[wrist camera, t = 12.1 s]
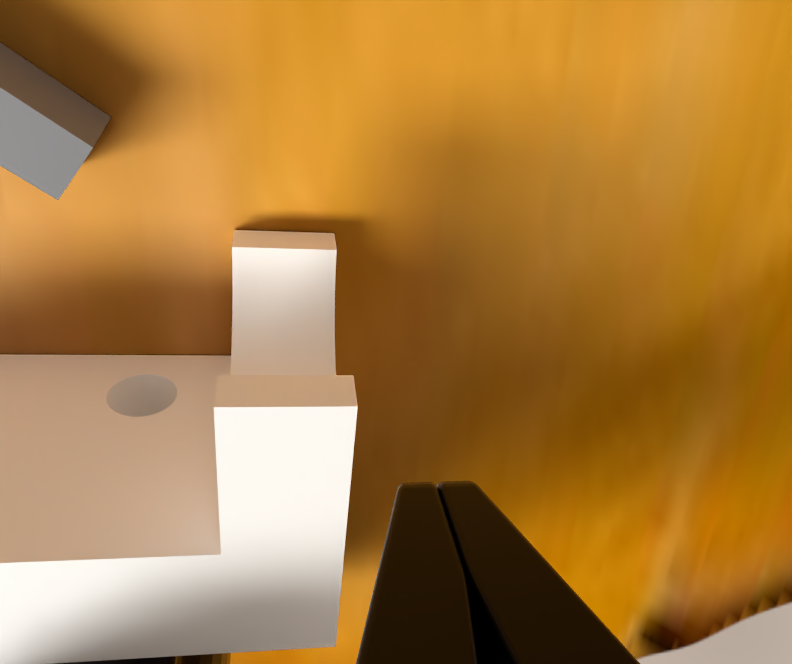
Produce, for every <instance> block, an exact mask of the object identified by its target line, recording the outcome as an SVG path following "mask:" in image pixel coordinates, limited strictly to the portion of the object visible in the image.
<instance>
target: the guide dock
mask: <svg viewBox="0 0 792 664" xmlns="http://www.w3.org/2000/svg"><path fill="white" fill-rule="evenodd" d="M110 118H111V117H110V116H109V115H107V114H106V113H104V112H103V111H101V110H100V109H98V108H97V107H95V106H94V105H92V104H91V103H89V102H88V101H86V100H85V99H83V98H82V97H81V96H79V95H78V94H76V93H75V92H73V91H72V90H70V89H69V88H67V87H66V86H64V85H63V84H61V83H60V82H58V81H57V80H55V79H54V78H52V77H51V76H49V75H48V74H46V73H45V72H44V71H42V70H41V69H39V68H38V67H36V66H35V65H33V64H32V63H30V62H29V61H27V60H26V59H24V58H23V57H21V56H20V55H18V54H17V53H15V52H14V51H12V50H11V49H9V48H8V47H7V46H5V45H4V44H2V43H1V42H0V166H2V167H3V168H5V169H7V170H8V171H10V172H12V173H13V174H15V175H17V176H18V177H20V178H22V179H23V180H25V181H27V182H28V183H30V184H32V185H33V186H35V187H37V188H38V189H40V190H42V191H43V192H45V193H47V194H48V195H50V196H52V197H53V198H55V199H57V200H58V199H59V198H60V196H61V195H62V193H63V192H64V190H65V189H66V188H67V186H68V185H69V183H70V182H71V180H72V179H73V177H74V176H75V174H76V173H77V171H78V170H79V168H80V167H81V165H82V164H83V162H84V161H85V159H86V158H87V156H88V155H89V153H90V152H91V150H92V149H93V147H94V145H95V144H96V142H97V140H98V139H99V137H100V135H101V134H102V132H103V130H104V129H105V127H106V125H107V124H108V122H109V120H110Z"/></svg>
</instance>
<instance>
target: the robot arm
mask: <svg viewBox="0 0 792 664" xmlns="http://www.w3.org/2000/svg"><path fill="white" fill-rule="evenodd" d="M230 654H231V653H219V654H202V655H186V656H169V657H152V658H136V659H119V660H102V661H86V662H69V663H53V664H230ZM356 664H640V663H639V662H638V661H637V660H636V659H635V658H634V657H633V655H632V654H631V653H630V652H629V651H628V650H627V649H626V648H625V647H624V646H623V644H622V643H621V642H620V641H619V640H618V639H617V638H616V637H615V636H614V635H613V633H612V632H611V631H610V630H609V629H608V628H607V627H606V626H605V625H604V624H603V622H602V621H601V620H600V619H599V618H598V617H597V616H596V615H595V614H594V613H593V611H592V610H591V609H590V608H589V607H588V606H587V605H586V604H585V603H584V602H583V600H582V599H581V598H580V597H579V596H578V595H577V594H576V593H575V592H574V591H573V590H572V588H571V587H570V586H569V585H568V584H567V583H566V582H565V581H564V580H563V579H562V577H561V576H560V575H559V574H558V573H557V572H556V571H555V570H554V569H553V568H552V566H551V565H550V564H549V563H548V562H547V561H546V560H545V559H544V558H543V557H542V555H541V554H540V553H539V552H538V551H537V550H536V549H535V548H534V547H533V546H532V544H531V543H530V542H529V541H528V540H527V539H526V538H525V537H524V536H523V535H522V533H521V532H520V531H519V530H518V529H517V528H516V527H515V526H514V525H513V524H512V522H511V521H510V520H509V519H508V518H507V517H506V516H505V515H504V514H503V513H502V512H501V510H500V509H499V508H498V507H497V506H496V505H495V504H494V503H493V502H492V501H491V499H490V498H489V497H488V496H487V495H486V494H485V493H484V492H483V491H482V490H481V488H480V487H479V486H478V485H477V484H475V483H474V482H471V481H447V482H440V483H439V484H437V486H436V485H435V484H433V483H432V482H418V483H402V484H400V485H399V487H398V489H397V493H396V497H395V501H394V506H393V510H392V514H391V518H390V523H389V527H388V531H387V535H386V539H385V544H384V548H383V552H382V556H381V561H380V565H379V569H378V573H377V577H376V582H375V586H374V590H373V594H372V599H371V603H370V607H369V611H368V615H367V620H366V624H365V628H364V632H363V637H362V641H361V645H360V649H359V653H358V658H357V662H356Z"/></svg>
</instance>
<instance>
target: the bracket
mask: <svg viewBox="0 0 792 664" xmlns="http://www.w3.org/2000/svg"><path fill="white" fill-rule="evenodd" d="M336 255H337V248H336V241H335V233H314V232H283V231H251V230H234V234H233V243H232V285H233V293H232V348H231V356H223V355H6V354H0V664H53V663H69V662H86V661H102V660H119V659H136V658H152V657H169V656H186V655H202V654H219V653H236V652H252V651H269V650H285V649H302V648H319V647H335V646H336V637H337V626H338V615H339V604H340V593H341V582H342V572H343V561H344V550H345V539H346V528H347V517H348V507H349V496H350V485H351V474H352V463H353V452H354V441H355V431H356V420H357V409H358V405H357V397H356V390H355V382H354V375H336V363H335V276H336Z"/></svg>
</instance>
